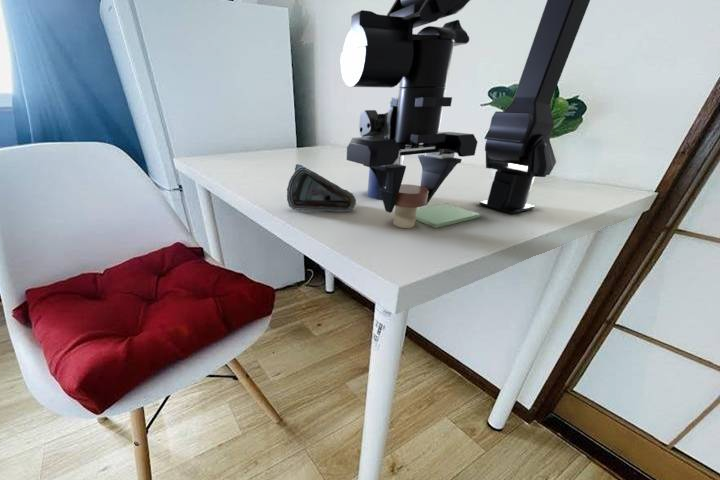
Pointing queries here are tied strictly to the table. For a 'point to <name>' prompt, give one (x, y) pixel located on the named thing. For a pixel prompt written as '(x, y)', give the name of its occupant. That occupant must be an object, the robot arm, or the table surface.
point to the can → (373, 183)
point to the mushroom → (409, 204)
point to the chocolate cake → (317, 193)
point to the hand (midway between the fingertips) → (406, 208)
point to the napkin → (444, 215)
